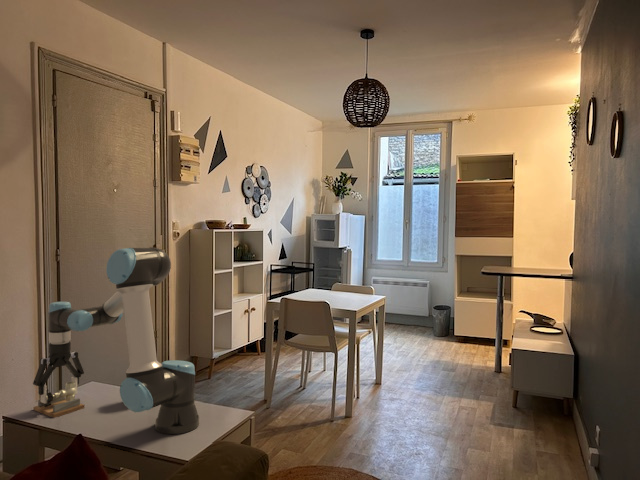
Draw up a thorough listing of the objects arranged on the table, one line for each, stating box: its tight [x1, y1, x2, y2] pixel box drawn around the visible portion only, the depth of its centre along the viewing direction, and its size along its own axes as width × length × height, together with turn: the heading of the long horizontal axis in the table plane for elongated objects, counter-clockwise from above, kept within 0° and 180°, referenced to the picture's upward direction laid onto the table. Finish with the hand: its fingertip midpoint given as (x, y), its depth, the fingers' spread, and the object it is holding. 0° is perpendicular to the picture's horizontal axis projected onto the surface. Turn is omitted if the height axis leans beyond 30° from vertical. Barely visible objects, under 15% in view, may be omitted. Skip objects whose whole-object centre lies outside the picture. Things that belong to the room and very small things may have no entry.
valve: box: [39, 381, 76, 407], centre depth 188 cm, size 7×7×12 cm
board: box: [33, 397, 85, 419], centre depth 188 cm, size 14×12×4 cm
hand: (59, 397), depth 188 cm, fingers closed on valve, 11 cm apart
